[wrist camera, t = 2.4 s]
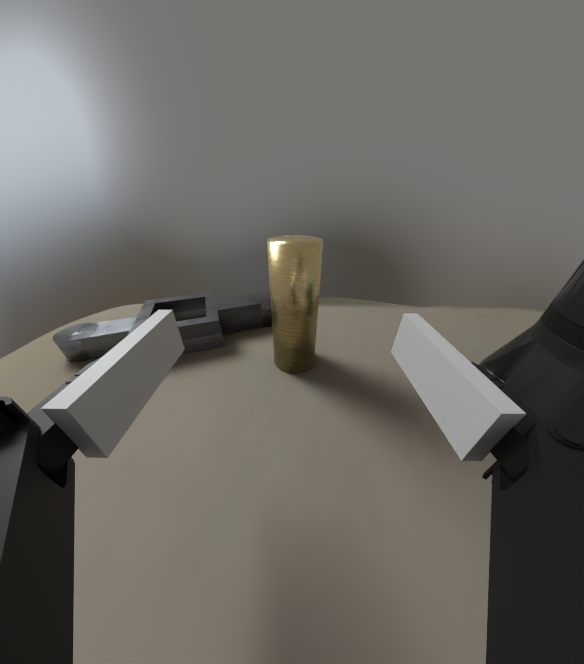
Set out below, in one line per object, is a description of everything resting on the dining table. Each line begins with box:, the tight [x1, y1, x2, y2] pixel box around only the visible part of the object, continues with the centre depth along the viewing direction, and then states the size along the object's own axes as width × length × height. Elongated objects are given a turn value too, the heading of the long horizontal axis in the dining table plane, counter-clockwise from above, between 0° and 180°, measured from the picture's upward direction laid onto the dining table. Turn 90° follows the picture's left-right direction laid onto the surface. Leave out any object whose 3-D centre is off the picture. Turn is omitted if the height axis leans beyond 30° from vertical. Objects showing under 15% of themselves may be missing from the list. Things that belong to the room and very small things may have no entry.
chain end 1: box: [53, 308, 224, 362], centre depth 29 cm, size 19×10×3 cm, turn 110°
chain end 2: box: [128, 292, 272, 341], centre depth 32 cm, size 19×10×4 cm, turn 110°
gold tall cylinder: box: [267, 235, 323, 373], centre depth 23 cm, size 5×5×14 cm
